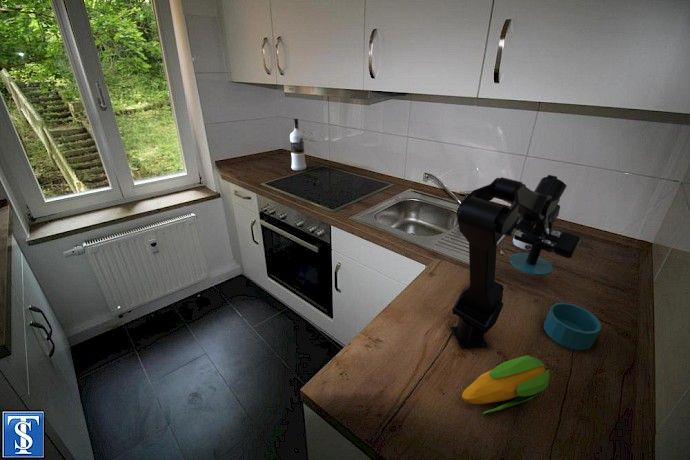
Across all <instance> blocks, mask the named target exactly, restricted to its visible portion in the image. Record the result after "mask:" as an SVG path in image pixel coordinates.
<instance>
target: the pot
mask: <svg viewBox="0 0 690 460" xmlns="http://www.w3.org/2000/svg"><path fill="white" fill-rule="evenodd" d="M543 329H544V332H545V333H546V335H547V336H549V338H551V339H552V340H553V341H554V342H556V343H557V344H559V345H561V346H563V347H565V348H568V349H571V350H577V351H584V350H585V351H586V350H588V349H590V348H591V347H592V346H593V345H594V343H595V341H596V340H597V338H598V336H599V334H600V332H601V331H602V323H601V321H600V320H599V318H598V317H597V316H596V315H594V314H593V313H592V312H591V311H590V310H587V309H586V308H584V307H581V306H580V305H579V306H578V305H576V304H573V303H567V302H556V303H554V304H552V305H550V308H549V311H548V312H547V315H546V318H545V320H544V323H543Z"/></svg>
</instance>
